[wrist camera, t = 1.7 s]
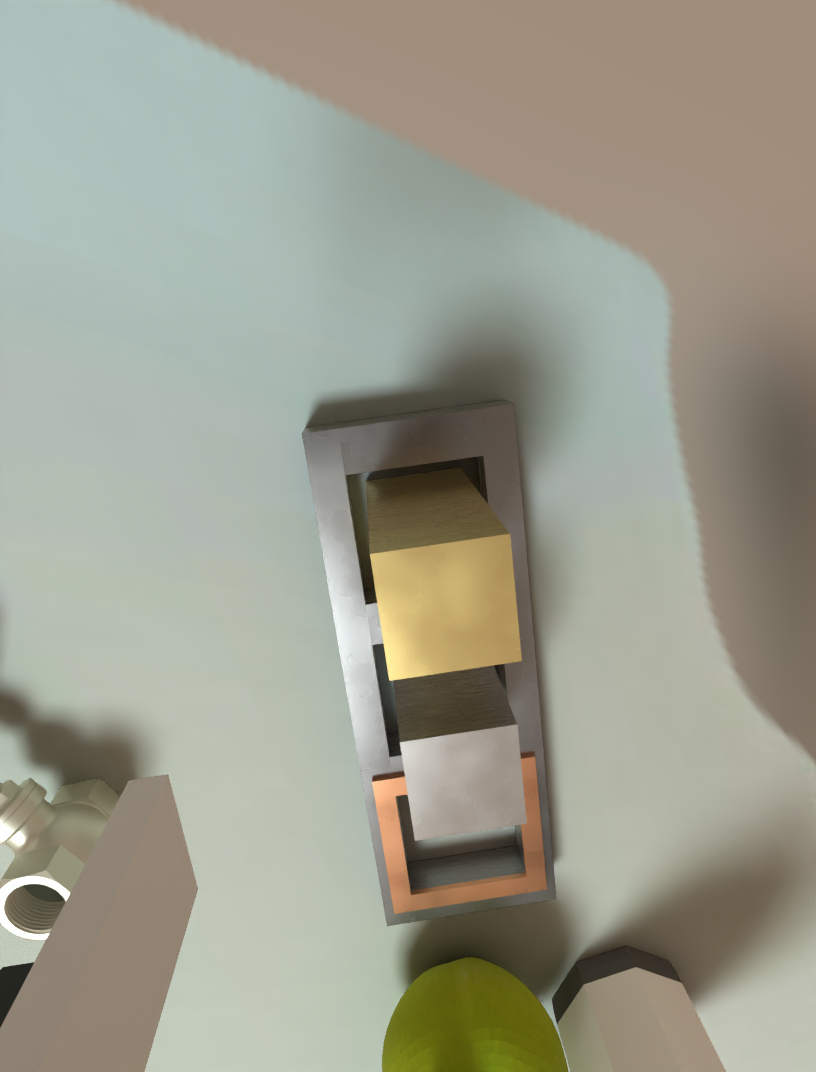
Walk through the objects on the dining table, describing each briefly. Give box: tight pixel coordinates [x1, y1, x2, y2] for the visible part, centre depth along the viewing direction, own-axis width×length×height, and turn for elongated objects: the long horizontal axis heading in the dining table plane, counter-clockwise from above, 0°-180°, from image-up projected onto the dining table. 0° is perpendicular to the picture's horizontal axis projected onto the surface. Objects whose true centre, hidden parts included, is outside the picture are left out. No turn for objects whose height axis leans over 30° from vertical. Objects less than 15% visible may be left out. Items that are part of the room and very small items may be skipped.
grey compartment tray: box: [302, 400, 556, 926], centre depth 34 cm, size 26×9×2 cm, turn 7°
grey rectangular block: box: [394, 665, 527, 841], centre depth 31 cm, size 4×4×9 cm
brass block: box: [366, 468, 522, 681], centre depth 28 cm, size 4×4×11 cm
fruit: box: [382, 957, 568, 1072], centre depth 36 cm, size 9×9×10 cm
